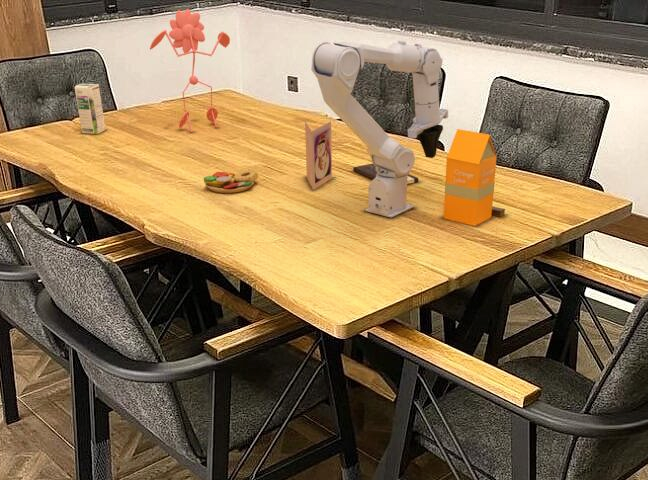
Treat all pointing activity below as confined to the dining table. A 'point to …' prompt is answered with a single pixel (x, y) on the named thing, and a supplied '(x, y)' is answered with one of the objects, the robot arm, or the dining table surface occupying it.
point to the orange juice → (470, 178)
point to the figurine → (187, 37)
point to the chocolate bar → (371, 172)
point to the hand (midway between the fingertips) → (430, 156)
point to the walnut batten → (497, 211)
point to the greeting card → (318, 155)
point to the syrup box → (90, 108)
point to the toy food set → (231, 181)
